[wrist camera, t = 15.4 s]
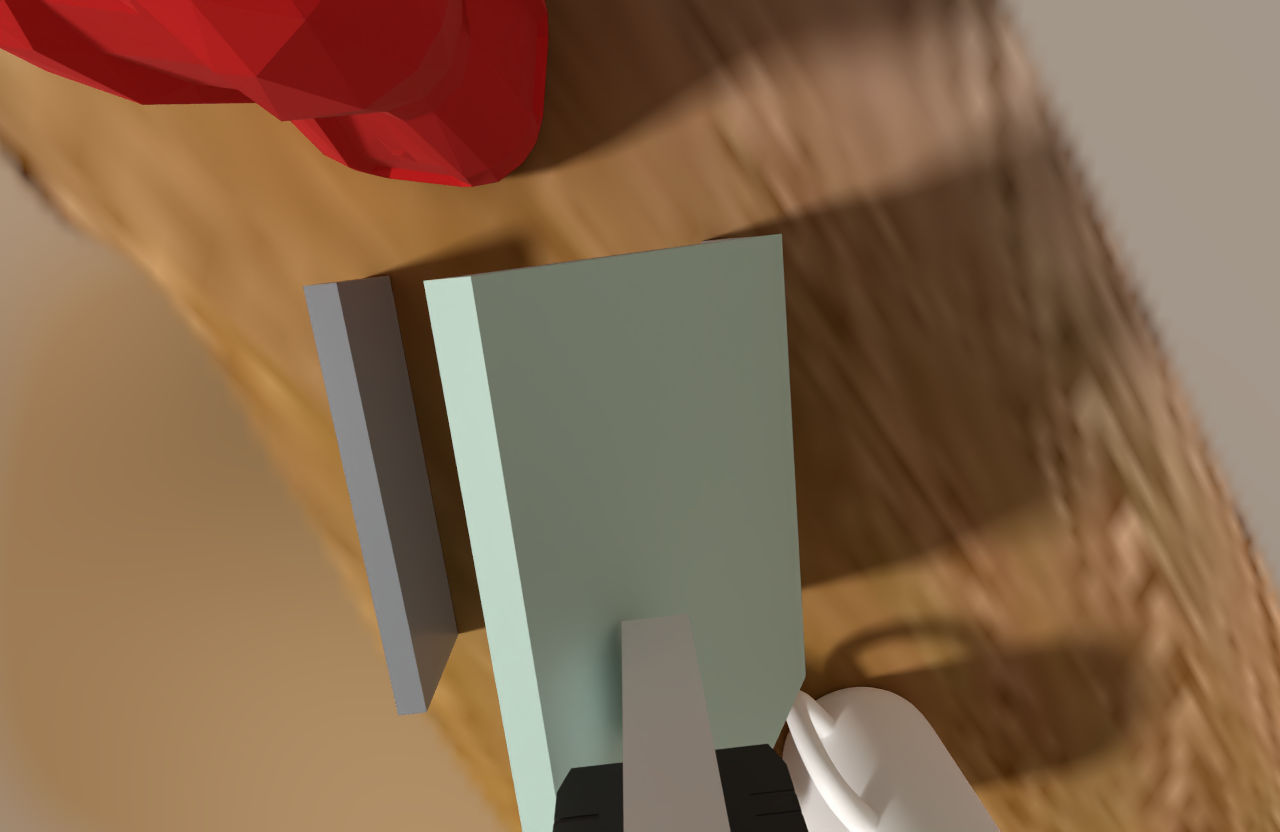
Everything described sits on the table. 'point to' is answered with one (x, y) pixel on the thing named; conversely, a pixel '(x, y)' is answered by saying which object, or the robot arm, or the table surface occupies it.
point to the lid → (626, 488)
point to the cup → (875, 767)
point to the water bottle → (320, 70)
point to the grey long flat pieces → (387, 479)
